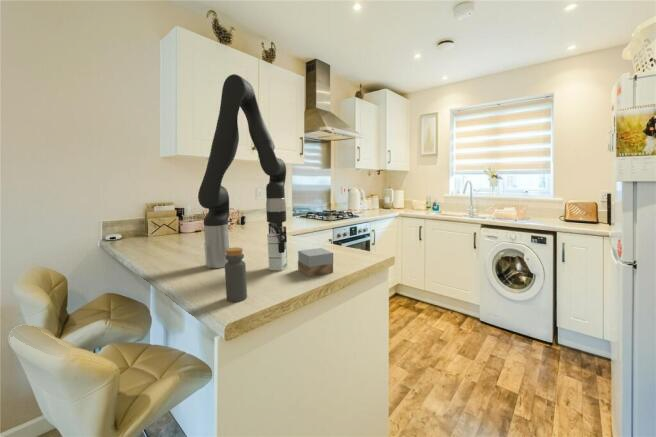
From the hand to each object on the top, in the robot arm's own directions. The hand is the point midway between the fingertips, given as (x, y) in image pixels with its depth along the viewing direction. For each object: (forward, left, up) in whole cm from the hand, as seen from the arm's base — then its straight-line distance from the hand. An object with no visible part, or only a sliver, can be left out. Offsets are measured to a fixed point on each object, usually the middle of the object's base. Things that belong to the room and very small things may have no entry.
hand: (277, 250), depth 118 cm
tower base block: (+11, -11, -8) cm, 17 cm away
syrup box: (0, 0, -8) cm, 8 cm away
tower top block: (+11, -11, -4) cm, 16 cm away
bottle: (-21, -23, -8) cm, 32 cm away
